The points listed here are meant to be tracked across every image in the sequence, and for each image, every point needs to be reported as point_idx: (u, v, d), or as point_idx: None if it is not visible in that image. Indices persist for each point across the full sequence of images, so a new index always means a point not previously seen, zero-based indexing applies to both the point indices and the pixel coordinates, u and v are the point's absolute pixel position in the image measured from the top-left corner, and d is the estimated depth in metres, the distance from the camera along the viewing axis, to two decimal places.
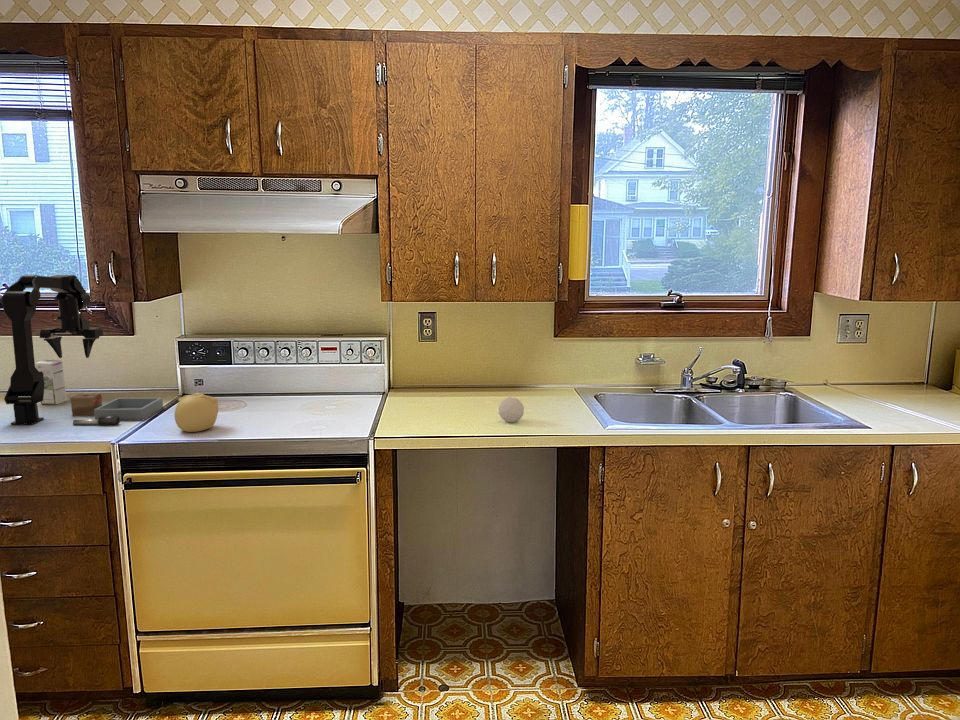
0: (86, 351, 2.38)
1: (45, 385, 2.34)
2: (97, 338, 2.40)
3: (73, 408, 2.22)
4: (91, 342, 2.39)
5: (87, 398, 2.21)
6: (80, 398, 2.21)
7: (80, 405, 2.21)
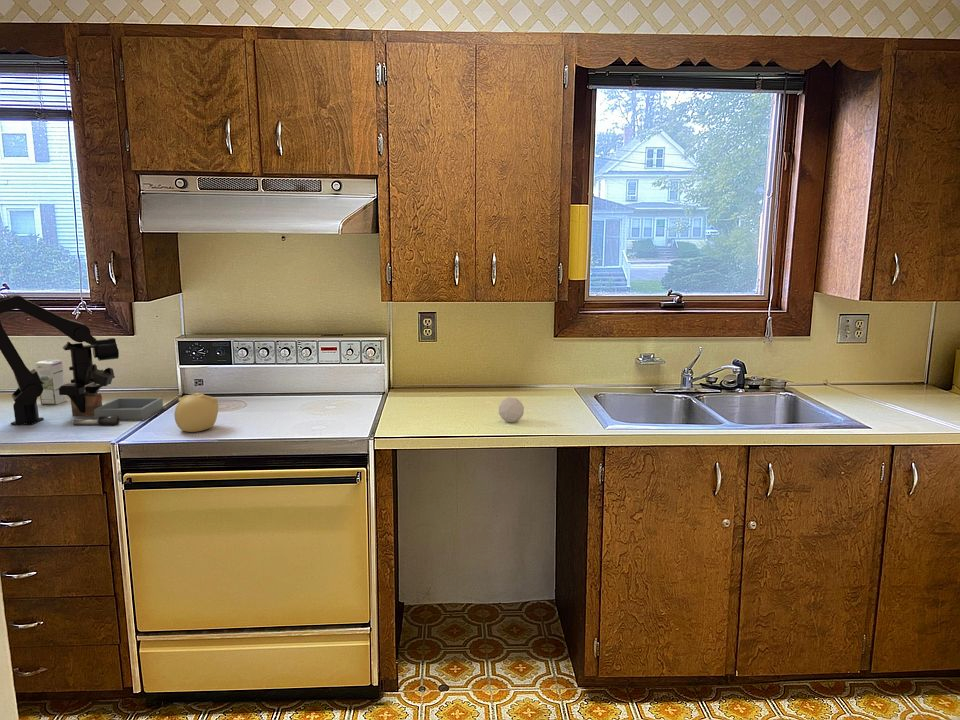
0: None
1: (45, 385, 2.34)
2: None
3: (73, 408, 2.22)
4: (80, 397, 2.19)
5: (87, 398, 2.21)
6: None
7: None
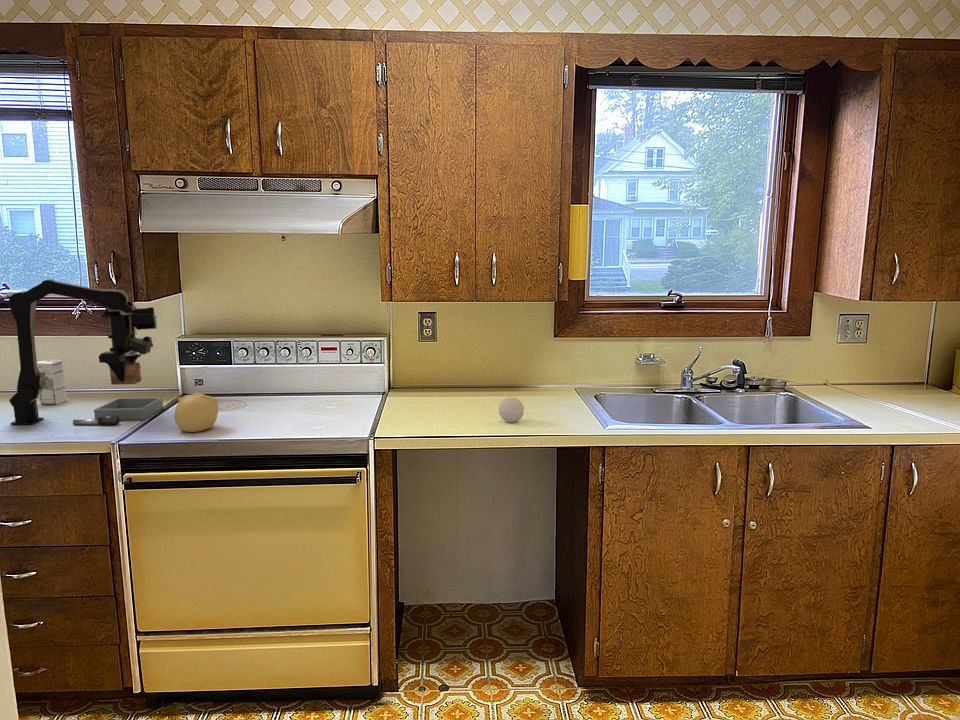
0: None
1: (45, 385, 2.34)
2: (118, 363, 2.14)
3: (112, 376, 2.19)
4: (120, 366, 2.17)
5: (126, 366, 2.18)
6: None
7: None
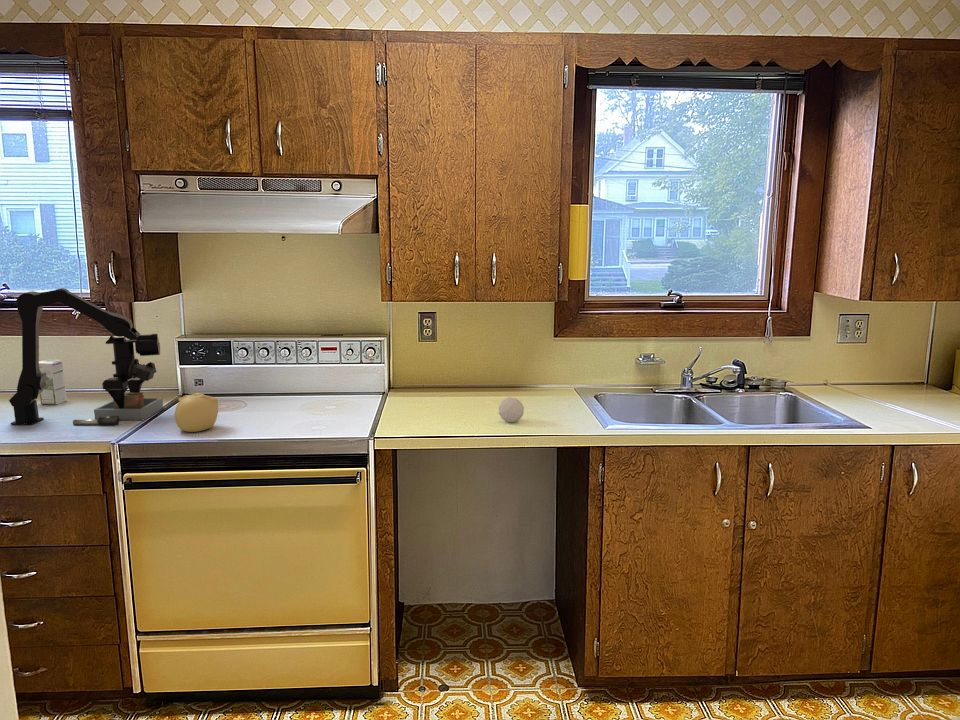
0: None
1: None
2: (118, 391, 2.14)
3: (115, 407, 2.21)
4: (120, 393, 2.16)
5: (130, 397, 2.20)
6: None
7: None
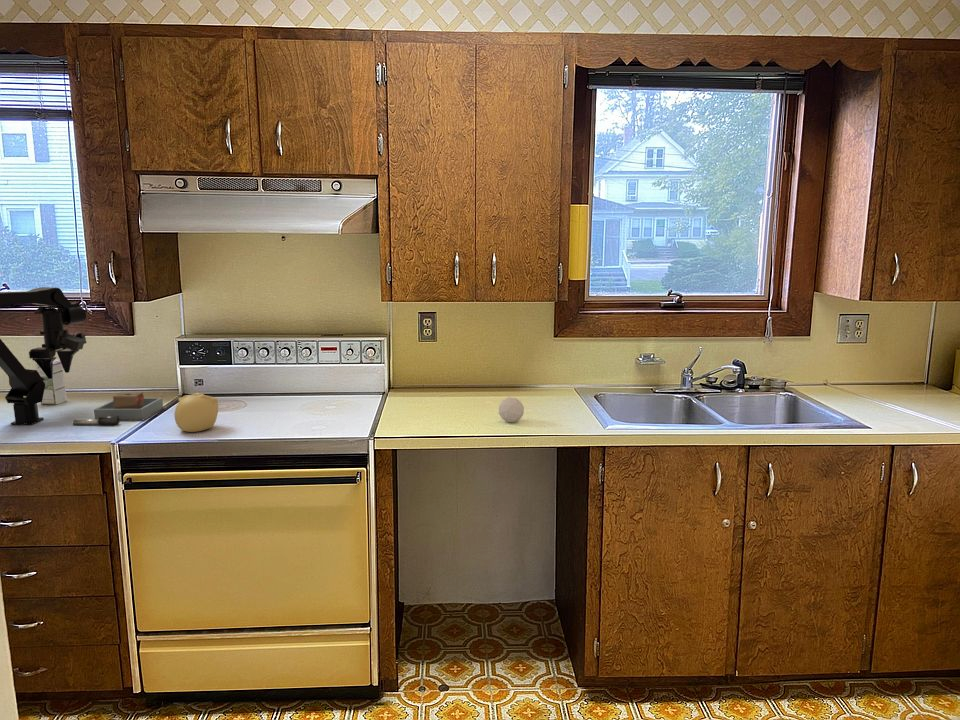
0: None
1: (45, 385, 2.34)
2: (45, 360, 2.15)
3: (115, 407, 2.21)
4: (48, 363, 2.17)
5: (130, 397, 2.20)
6: (123, 397, 2.20)
7: (122, 404, 2.20)
